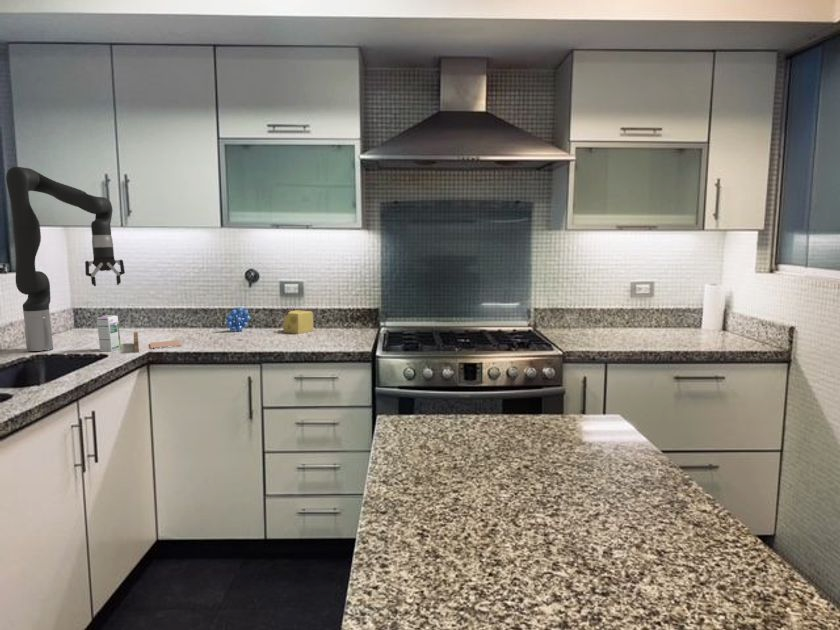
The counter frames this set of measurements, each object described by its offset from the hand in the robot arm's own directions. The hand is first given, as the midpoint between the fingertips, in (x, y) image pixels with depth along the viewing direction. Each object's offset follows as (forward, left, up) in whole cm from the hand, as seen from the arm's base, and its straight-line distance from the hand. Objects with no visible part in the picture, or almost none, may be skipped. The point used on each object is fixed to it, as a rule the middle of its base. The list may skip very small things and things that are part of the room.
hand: (106, 285), depth 243 cm
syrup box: (-1, 0, -28) cm, 28 cm away
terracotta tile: (+12, +17, -27) cm, 34 cm away
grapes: (+16, +57, -28) cm, 65 cm away
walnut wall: (+5, +7, -27) cm, 29 cm away
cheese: (+44, +69, -28) cm, 86 cm away
